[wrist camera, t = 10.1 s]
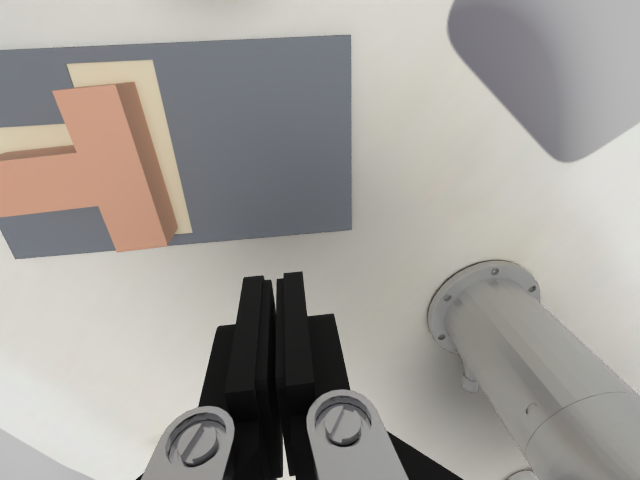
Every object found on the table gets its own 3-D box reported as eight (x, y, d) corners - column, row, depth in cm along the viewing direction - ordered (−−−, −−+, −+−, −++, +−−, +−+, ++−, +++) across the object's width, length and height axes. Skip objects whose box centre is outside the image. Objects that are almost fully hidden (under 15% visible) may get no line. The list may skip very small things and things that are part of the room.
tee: (178, 227, 32) (167, 246, 29) (50, 243, 31) (26, 263, 28) (134, 81, 26) (115, 84, 23) (-22, 96, 26) (-63, 102, 22)
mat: (350, 227, 34) (351, 229, 34) (19, 255, 32) (15, 259, 31) (349, 35, 27) (350, 34, 26) (-81, 54, 24) (-89, 54, 24)
